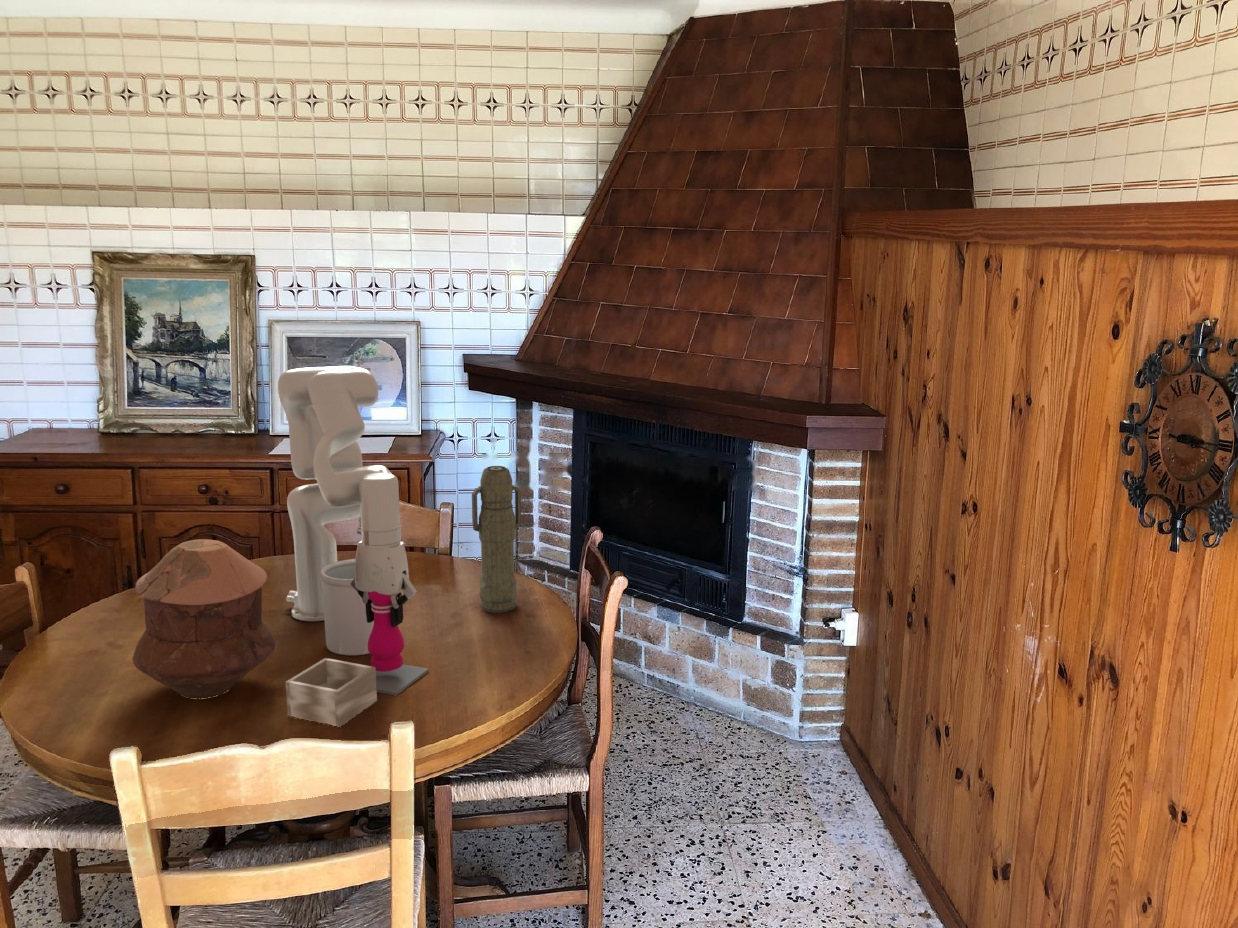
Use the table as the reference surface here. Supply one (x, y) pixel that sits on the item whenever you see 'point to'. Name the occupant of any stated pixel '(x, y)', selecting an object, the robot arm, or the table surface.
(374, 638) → the pepper mill
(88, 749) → the table surface
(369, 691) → the crate
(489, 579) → the thermos
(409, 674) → the mat
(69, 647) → the table surface
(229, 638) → the pottery vessel
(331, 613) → the utensil holder
